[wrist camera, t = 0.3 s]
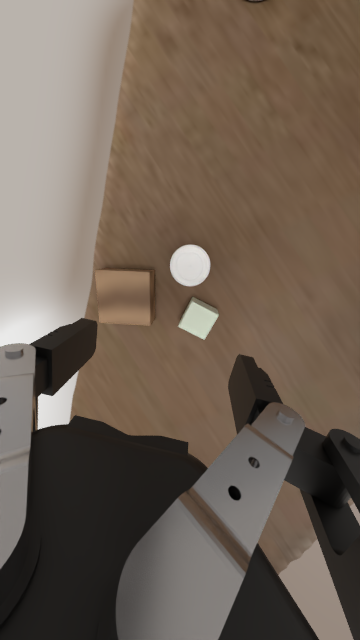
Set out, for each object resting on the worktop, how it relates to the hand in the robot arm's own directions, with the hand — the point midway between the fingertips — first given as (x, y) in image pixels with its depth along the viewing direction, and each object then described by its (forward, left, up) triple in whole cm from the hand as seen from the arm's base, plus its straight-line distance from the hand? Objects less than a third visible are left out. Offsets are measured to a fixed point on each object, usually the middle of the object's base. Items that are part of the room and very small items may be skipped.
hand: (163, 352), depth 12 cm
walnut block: (+4, -10, -27) cm, 29 cm away
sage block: (+5, +3, -27) cm, 27 cm away
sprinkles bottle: (-4, 0, -27) cm, 27 cm away
